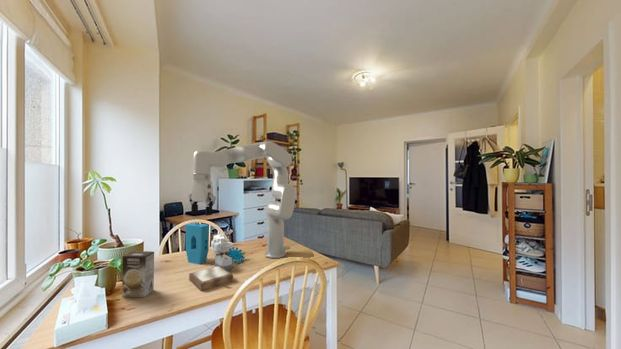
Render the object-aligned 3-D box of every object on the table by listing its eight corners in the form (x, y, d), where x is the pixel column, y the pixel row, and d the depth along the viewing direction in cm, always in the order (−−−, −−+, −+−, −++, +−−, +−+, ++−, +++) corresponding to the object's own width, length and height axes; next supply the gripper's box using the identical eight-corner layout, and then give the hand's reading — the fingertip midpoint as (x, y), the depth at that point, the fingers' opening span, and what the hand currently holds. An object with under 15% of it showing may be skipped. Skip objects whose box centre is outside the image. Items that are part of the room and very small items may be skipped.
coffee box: (121, 297, 98) (121, 256, 98) (132, 289, 105) (132, 250, 105) (145, 297, 99) (145, 256, 98) (154, 289, 105) (154, 250, 105)
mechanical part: (236, 253, 152) (236, 233, 152) (217, 258, 143) (218, 237, 143) (226, 249, 159) (226, 230, 159) (207, 253, 150) (208, 233, 150)
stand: (219, 271, 124) (219, 265, 124) (232, 281, 114) (233, 273, 114) (189, 280, 114) (189, 272, 114) (201, 291, 104) (201, 283, 104)
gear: (233, 263, 131) (226, 246, 135) (226, 269, 133) (220, 253, 138) (249, 260, 140) (242, 245, 144) (243, 266, 142) (237, 251, 146)
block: (184, 261, 137) (185, 224, 136) (192, 258, 141) (192, 222, 141) (202, 264, 132) (202, 226, 132) (209, 261, 137) (209, 224, 137)
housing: (224, 265, 132) (224, 253, 132) (231, 270, 126) (231, 257, 126) (215, 268, 129) (215, 255, 128) (222, 273, 123) (222, 259, 123)
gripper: (221, 178, 118) (221, 214, 119) (196, 177, 126) (196, 211, 127) (208, 178, 112) (207, 217, 112) (182, 177, 120) (182, 213, 120)
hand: (201, 214), depth 119 cm, fingers open, 9 cm apart
